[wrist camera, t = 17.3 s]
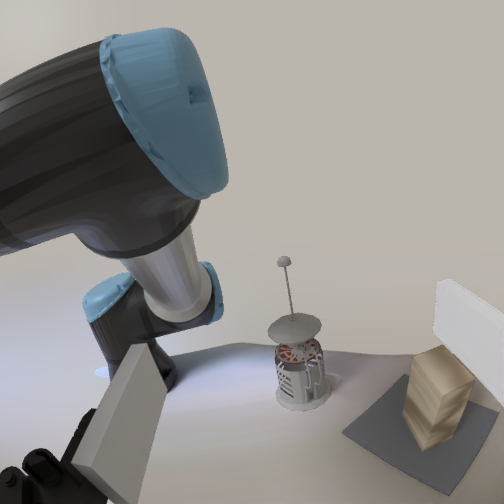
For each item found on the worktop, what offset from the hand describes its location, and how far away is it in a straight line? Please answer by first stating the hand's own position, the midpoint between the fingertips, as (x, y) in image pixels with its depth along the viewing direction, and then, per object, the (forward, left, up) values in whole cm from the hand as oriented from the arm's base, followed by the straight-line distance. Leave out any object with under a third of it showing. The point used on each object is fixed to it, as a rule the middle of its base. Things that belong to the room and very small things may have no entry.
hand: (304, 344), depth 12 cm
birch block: (-1, +21, -30) cm, 36 cm away
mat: (-1, +21, -30) cm, 37 cm away
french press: (-22, +15, -30) cm, 41 cm away
